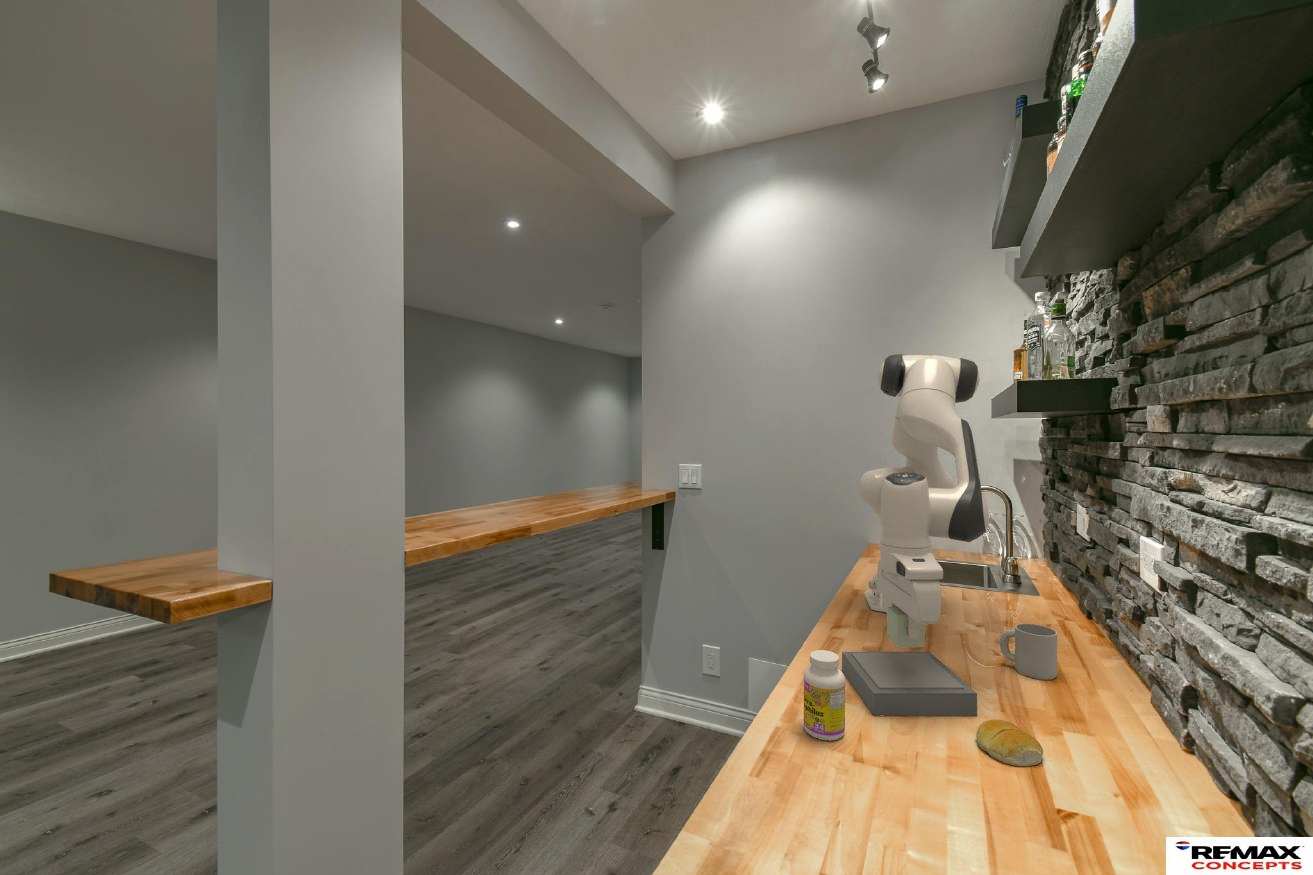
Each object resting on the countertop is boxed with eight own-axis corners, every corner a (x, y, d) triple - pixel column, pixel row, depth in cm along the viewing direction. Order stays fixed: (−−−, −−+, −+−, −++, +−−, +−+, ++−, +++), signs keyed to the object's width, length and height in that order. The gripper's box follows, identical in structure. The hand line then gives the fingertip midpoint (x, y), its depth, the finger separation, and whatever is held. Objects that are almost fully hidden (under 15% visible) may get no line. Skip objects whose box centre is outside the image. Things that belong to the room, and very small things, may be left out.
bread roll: (1009, 733, 94) (1009, 709, 94) (1053, 765, 85) (1053, 739, 85) (963, 737, 93) (963, 713, 93) (1003, 770, 84) (1003, 743, 84)
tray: (842, 670, 117) (842, 650, 117) (929, 670, 117) (929, 650, 117) (873, 715, 99) (873, 691, 99) (977, 715, 99) (977, 691, 99)
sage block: (887, 637, 110) (886, 606, 110) (912, 637, 110) (912, 606, 110) (897, 647, 105) (897, 615, 105) (924, 647, 105) (924, 615, 105)
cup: (1054, 684, 111) (1054, 639, 110) (995, 669, 117) (996, 627, 117) (1059, 671, 116) (1059, 628, 116) (1003, 658, 123) (1003, 617, 122)
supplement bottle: (795, 725, 96) (795, 651, 96) (826, 717, 99) (826, 644, 99) (821, 746, 90) (821, 666, 90) (854, 736, 93) (854, 659, 92)
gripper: (868, 547, 118) (869, 613, 118) (911, 572, 97) (911, 652, 98) (899, 547, 118) (899, 612, 118) (948, 572, 97) (948, 652, 98)
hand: (905, 631), depth 108 cm, fingers closed on sage block, 5 cm apart
